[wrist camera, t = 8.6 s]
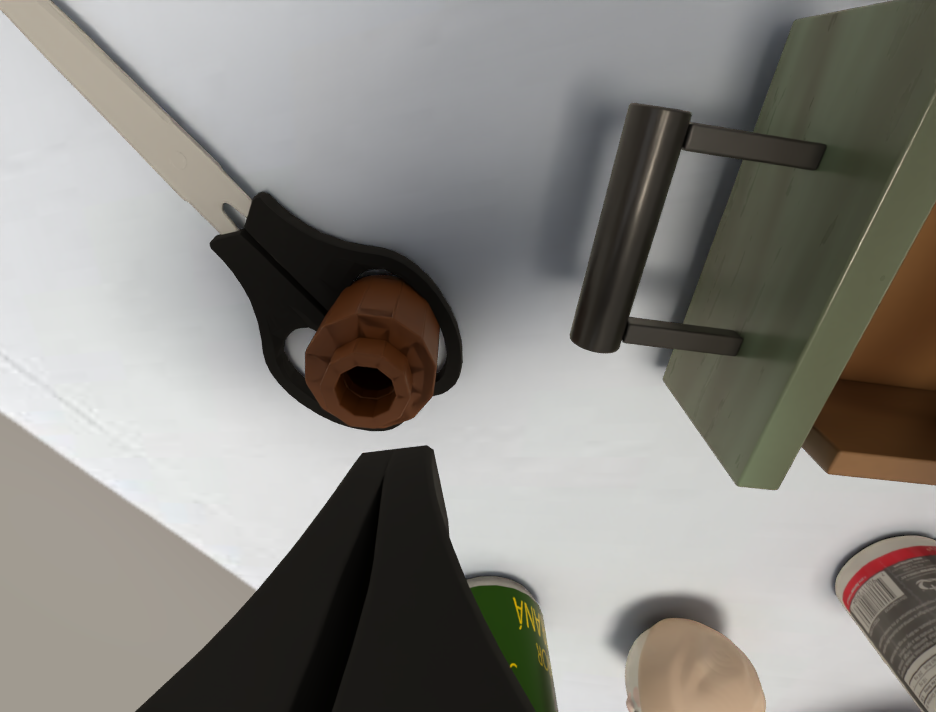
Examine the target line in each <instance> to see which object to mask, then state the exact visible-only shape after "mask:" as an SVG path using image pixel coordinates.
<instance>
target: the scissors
mask: <svg viewBox="0 0 936 712" xmlns="http://www.w3.org/2000/svg"><path fill="white" fill-rule="evenodd" d="M0 10H1V11H2V12H3V13H4V14H5V15H6V16H7V17H8V18H9V19H10V20H11V21H12V22H13V23H14V24H15V26H16V27H17V28H18V29H19V30H20V31H21V32H22V33H23V34H24V35H25V36H26V37H27V38H28V39H29V41H30V42H31V43H32V44H33V45H34V46H35V47H36V48H37V49H38V50H39V51H40V52H41V53H42V54H43V55H44V56H45V58H46V59H47V60H48V61H49V62H50V63H51V64H52V65H53V66H54V67H55V68H56V69H57V70H58V71H59V72H60V73H61V74H62V75H63V76H64V77H65V78H66V79H67V80H68V81H69V82H70V83H71V84H72V85H73V86H74V87H75V88H76V89H77V90H78V91H79V92H80V93H81V94H82V95H83V96H84V97H85V98H86V99H87V101H88V102H89V103H90V104H91V105H92V106H93V107H94V108H95V109H96V110H97V111H98V112H99V113H100V114H101V115H102V116H103V117H104V118H105V119H106V120H107V121H108V122H109V123H110V124H111V125H112V126H113V127H114V128H115V129H116V130H117V131H118V133H119V134H120V135H121V136H122V137H123V138H124V139H125V140H126V141H127V142H128V143H129V144H130V145H131V146H132V147H133V148H134V149H135V150H136V151H137V152H138V153H139V154H140V155H141V156H142V157H143V158H144V159H145V160H146V162H147V163H148V164H149V165H150V166H151V167H152V168H153V169H154V170H155V171H156V172H157V173H158V174H159V175H160V176H161V177H162V178H163V179H164V180H165V181H166V182H167V183H168V184H169V185H170V186H171V188H172V189H173V190H174V191H175V192H176V193H177V194H178V195H179V196H180V197H181V198H182V199H184V200H185V201H187V202H189V203H190V204H191V205H192V206H193V207H194V208H195V209H196V210H197V211H198V212H199V213H200V214H201V215H202V216H203V217H204V218H205V219H206V220H207V221H208V222H209V223H210V224H211V225H212V226H213V227H214V228H215V229H216V230H217V231H218V232H219V233H220V235H216V236H215V237H214V239H213V240H212V241H211V242H210V247H211V249H212V250H213V251H214V252H215V253H216V254H217V255H218V256H219V257H220V258H221V259H222V260H223V261H224V262H225V264H226V265H227V266H228V267H229V268H230V270H231V271H232V272H233V273H234V275H235V276H236V278H237V279H238V281H239V282H240V284H241V285H242V287H243V288H244V290H245V292H246V294H247V296H248V297H249V299H250V301H251V304H252V307H253V310H254V313H255V315H256V318H257V321H258V325H259V330H260V335H261V340H262V349H263V354H264V358H265V362H266V364H267V366H268V368H269V370H270V372H271V374H272V375H273V376H274V378H275V379H276V380H277V381H278V383H279V384H280V385H281V386H282V387H283V388H284V389H285V390H286V391H287V392H288V393H289V394H290V395H291V396H292V397H293V398H295V399H296V400H297V401H298V402H300V403H301V404H303V405H304V406H306V407H307V408H309V409H311V410H312V411H314V412H315V413H317V414H319V415H320V416H323V417H325V418H327V419H329V420H331V421H333V422H335V423H338V424H341V425H344V426H347V427H351V428H356V429H361V430H367V431H386V430H390V429H393V428H395V427H397V426H399V425H400V424H402V423H403V422H401V423H398V424H396V425H393V426H390V427H387V428H382V429H381V428H376V429H372V428H362V427H353V426H350V425H347V424H346V423H344V422H343V421H342V420H340V419H339V418H337V417H336V416H334V415H332V414H331V413H329V412H327V411H326V410H324V409H323V408H322V407H321V406H320V404H319V403H318V401H317V400H316V398H315V396H314V395H313V393H312V392H311V390H310V389H309V387H308V385H307V384H306V381H305V378H304V377H303V376H302V375H301V374H300V373H299V372H298V371H297V370H296V369H295V368H294V366H293V365H292V364H291V362H290V361H289V360H288V358H287V356H286V354H285V352H284V344H285V339H286V338H287V337H288V335H289V334H290V333H291V332H292V331H294V330H295V329H299V328H308V327H309V328H311V329H313V330H315V331H317V330H318V328H319V326H320V325H321V323H322V321H323V319H324V318H325V316H326V314H327V312H328V311H329V310H330V308H331V307H332V305H333V304H334V303H335V301H336V300H337V298H338V297H339V295H340V294H341V292H342V291H343V290H344V289H345V288H346V287H349V286H351V285H352V283H353V281H354V279H355V278H356V277H357V276H358V275H359V274H360V273H362V272H364V271H366V270H368V269H385V270H387V271H389V272H391V273H393V274H396V275H398V276H399V277H400V278H402V279H403V280H405V281H406V282H408V283H409V284H410V285H411V286H412V287H413V288H414V289H415V290H416V291H417V292H418V293H419V294H420V295H421V296H422V298H424V299H425V300H426V301H427V302H428V303H429V305H430V307H431V309H432V311H433V313H434V315H435V317H436V319H437V321H438V324H439V326H440V328H441V331H442V333H443V336H444V340H445V345H446V350H447V357H446V361H445V364H444V366H443V368H442V369H441V370H440V371H439V372H438V373H436V378H435V385H434V393H433V396H435V395H440V394H443V393H445V392H446V391H448V390H449V389H450V388H452V387H453V386H454V385H455V384H456V382H457V380H458V378H459V376H460V372H461V368H462V363H463V357H462V340H461V336H460V333H459V329H458V325H457V322H456V319H455V317H454V315H453V312H452V310H451V308H450V306H449V304H448V303H447V301H446V299H445V298H444V296H443V294H442V293H441V291H440V289H439V288H438V287H437V286H436V284H435V283H434V282H433V281H432V279H431V278H430V277H429V276H428V275H427V274H426V273H425V272H424V271H423V270H422V269H421V268H420V267H419V266H418V265H416V264H415V263H414V262H412V261H411V260H410V259H408V258H407V257H405V256H403V255H401V254H399V253H397V252H395V251H392V250H389V249H385V248H381V247H374V246H367V245H362V244H357V243H352V242H347V241H344V240H341V239H338V238H336V237H333V236H330V235H327V234H324V233H322V232H320V231H318V230H316V229H314V228H312V227H311V226H309V225H307V224H306V223H304V222H303V221H301V220H300V219H298V218H297V217H295V216H294V215H292V214H291V213H290V212H289V211H287V210H286V209H285V208H284V207H282V206H281V205H280V204H279V203H278V202H277V201H276V200H275V199H274V198H273V197H272V196H271V195H270V194H268V193H266V192H260V193H258V194H257V195H256V196H255V197H254V198H253V199H251V198H250V197H249V196H248V195H247V194H246V193H245V192H244V191H243V190H242V189H241V188H240V187H239V186H238V185H237V184H236V183H235V182H234V181H233V180H232V179H231V178H230V177H229V176H228V175H227V174H226V173H225V172H224V171H223V169H222V167H221V166H220V164H219V163H218V162H217V161H216V160H215V159H214V158H213V157H212V156H211V155H210V154H209V153H208V152H207V151H205V150H204V149H203V148H202V147H201V146H200V145H199V144H198V143H197V142H196V141H195V140H194V139H193V138H192V137H191V136H190V135H189V134H188V133H187V132H186V131H185V130H184V129H183V128H182V127H181V126H180V125H179V124H178V123H177V122H176V121H175V120H174V119H173V118H171V117H170V116H169V115H168V114H167V113H166V112H165V111H164V110H163V109H162V108H161V107H160V106H159V105H158V104H157V103H156V102H155V101H154V100H153V99H152V98H151V97H150V96H149V95H148V94H147V93H146V92H145V91H144V90H143V89H142V88H141V87H140V86H139V85H138V84H137V83H136V82H135V81H134V80H133V79H132V78H130V77H129V76H128V75H127V74H126V73H125V72H124V71H123V70H122V69H121V68H120V67H119V66H118V65H117V64H116V63H115V62H114V61H113V60H112V59H111V58H110V57H109V56H108V55H107V54H106V53H105V52H104V51H103V50H102V49H101V48H100V47H99V46H98V45H97V44H96V43H95V42H94V41H93V40H92V39H91V38H90V37H89V36H88V35H87V34H86V33H85V32H84V31H83V30H82V29H81V28H80V27H79V26H78V25H77V24H76V23H75V22H74V21H72V20H71V19H70V18H69V17H68V16H67V15H66V14H65V13H64V12H63V11H62V10H61V9H60V8H59V7H58V6H57V5H56V4H54V3H53V2H52V1H51V0H0ZM224 203H228V204H230V205H231V206H232V207H234V208H235V209H236V210H237V211H238V212H240V213H241V214H242V215H243V216H245V217H246V218H247V219H246V223H245V228H243V229H238V227H237V226H236V225H235V224H234V222H233V221H232V220H231V219H230V217H229V216H228V215H227V214H226V213H225V211H224V209H223V207H224ZM365 368H366V369H368V370H375V371H380V370H378V369H377V368H371V367H365Z"/></svg>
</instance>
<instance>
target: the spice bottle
mask: <svg viewBox="0 0 936 712" xmlns="http://www.w3.org/2000/svg"><path fill="white" fill-rule="evenodd" d="M439 330H440V326H439V324H438V321H437V319H436V317H435V315H434V313H433V311H432V309H431V307H430V305H429V303H428V302H427V301H426V300H425V299H424V298H422V296H421V295H420V294H419V293H418V292H417V291H416V290H415V289H414V288H413V287H412V286H411V285H410V284H409V283H408V282H406V281H405V280H403V279H402V278H399V277H396V276H391V275H372V276H367V277H364V278H361V279H358V280H356V281H354V282H353V283H352V285H351V286H349V287H346V288H345V289H344V290H343V291H342V292H341V294H340V295H339V297H338V298H337V300H336V301H335V303H334V304H333V305H332V307H331V308H330V310H329V311H328V312H327V314H326V316H325V318H324V319H323V321H322V323H321V325H320V326H319V328H318V330H317V332H316V333H315V335H314V337H313V339H312V340H311V342H310V344H309V346H308V347H307V349H306V352H305V381H306V384H307V385H308V387H309V389H310V390H311V392H312V393H313V395H314V396H315V398H316V400H317V401H318V403H319V404H320V406H321V407H322V408H323V409H324V410H326V411H327V412H329V413H331V414H332V415H334V416H336V417H337V418H339V419H340V420H342V421H343V422H344V423H346V424H347V425H350V426H353V427H362V428H372V429H376V428H381V429H382V428H387V427H390V426H393V425H396V424H398V423H401V422H404V421H407V420H410V419H412V418H414V417H415V416H416V415H417V414H418V412H419V411H420V410H421V409H422V408H423V407H424V406H425V404H426V403H427V402H428V401H429V400H430V399H431V398H432V396H433V393H434V385H435V378H436V371H437V359H438V344H439ZM365 367H371V368H377V369H378V370H380V371H375V370H368V369H366V368H365Z"/></svg>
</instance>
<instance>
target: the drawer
mask: <svg viewBox="0 0 936 712" xmlns="http://www.w3.org/2000/svg"><path fill="white" fill-rule="evenodd" d="M691 116H692V113H691V112H689V111H684V110H678V109H672V108H666V107H660V106H653V105H646V104H639V103H630V105H629V107H628V111H627V115H626V119H625V122H624V126H623V130H622V134H621V138H620V142H619V146H618V150H617V153H616V157H615V161H614V165H613V169H612V173H611V177H610V181H609V184H608V188H607V192H606V196H605V200H604V204H603V208H602V211H601V215H600V219H599V223H598V227H597V231H596V235H595V239H594V242H593V246H592V250H591V254H590V258H589V262H588V266H587V269H586V273H585V277H584V281H583V285H582V289H581V293H580V297H579V300H578V304H577V308H576V312H575V316H574V320H573V324H572V328H571V331H570V339H571V341H572V342H573V343H574V344H576V345H577V346H579V347H581V348H583V349H586V350H589V351H592V352H597V353H613V352H616V351H617V350H618V349H619V347H620V344H621V341H623V342H624V343H629V344H637V345H645V346H653V347H661V348H669V349H673V352H672V354H671V357H670V360H669V363H668V365H667V368H666V371H665V374H664V376H663V382H664V383H665V384H666V386H667V387H668V389H669V390H670V392H671V393H672V394H673V396H674V397H675V399H676V400H677V401H678V403H679V404H680V406H681V407H682V409H683V410H684V411H685V413H686V414H687V416H688V417H689V419H690V420H691V421H692V423H693V424H694V426H695V427H696V429H697V430H698V431H699V433H700V434H701V436H702V437H703V439H704V440H705V441H706V443H707V444H708V446H709V447H710V449H711V450H712V451H713V453H714V454H715V456H716V457H717V459H718V460H719V461H720V463H721V464H722V466H723V467H724V469H725V470H726V471H727V473H728V474H729V476H730V477H731V479H732V480H733V481H734V483H735V484H736V485H737V486H739V487H748V488H758V489H768V490H777V489H778V488H779V487H780V485H781V483H782V481H783V479H784V477H785V476H786V474H787V472H788V470H789V468H790V467H791V465H792V463H793V461H794V459H795V457H796V456H797V454H798V452H799V450H800V448H801V447H802V448H803V449H804V450H805V451H806V452H807V453H808V454H809V455H810V456H811V457H812V458H813V460H814V461H815V462H816V463H817V464H818V465H819V466H820V467H821V468H822V469H823V470H824V471H825V472H826V473H828V474H832V475H842V476H851V477H861V478H870V479H880V480H889V481H899V482H908V483H918V484H928V485H936V0H892V1H887V2H882V3H877V4H872V5H867V6H862V7H857V8H852V9H847V10H842V11H837V12H832V13H826V14H821V15H816V16H811V17H806V18H801V19H797V20H795V21H794V22H793V24H792V27H791V30H790V33H789V35H788V38H787V41H786V44H785V46H784V49H783V52H782V54H781V57H780V60H779V63H778V65H777V68H776V71H775V74H774V76H773V79H772V82H771V84H770V87H769V90H768V93H767V95H766V98H765V101H764V104H763V106H762V109H761V112H760V114H759V117H758V120H757V123H756V125H755V128H754V131H753V132H749V131H743V130H737V129H730V128H724V127H718V126H712V125H706V124H699V123H693V122H690V119H691ZM681 150H684V151H690V152H696V153H703V154H709V155H715V156H722V157H728V158H735V159H741V160H743V161H742V164H741V166H740V169H739V172H738V174H737V177H736V180H735V183H734V185H733V188H732V191H731V194H730V196H729V199H728V202H727V204H726V207H725V210H724V213H723V215H722V218H721V221H720V224H719V226H718V229H717V232H716V234H715V237H714V240H713V243H712V245H711V248H710V251H709V254H708V256H707V259H706V262H705V264H704V267H703V270H702V273H701V275H700V278H699V281H698V284H697V286H696V289H695V292H694V294H693V297H692V300H691V303H690V305H689V308H688V311H687V314H686V316H685V319H684V322H683V324H681V323H673V322H665V321H658V320H650V319H642V318H634V317H629V315H630V312H631V309H632V305H633V302H634V299H635V296H636V293H637V289H638V286H639V283H640V280H641V277H642V273H643V270H644V267H645V264H646V260H647V257H648V254H649V251H650V248H651V244H652V241H653V238H654V235H655V232H656V228H657V225H658V222H659V219H660V216H661V212H662V209H663V206H664V203H665V200H666V196H667V193H668V190H669V187H670V184H671V180H672V177H673V174H674V171H675V167H676V164H677V161H678V158H679V155H680V151H681Z"/></svg>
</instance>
